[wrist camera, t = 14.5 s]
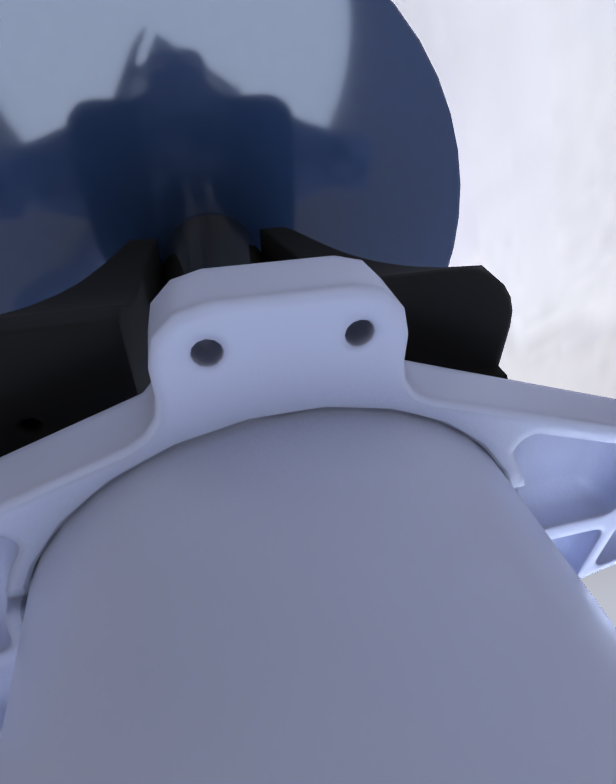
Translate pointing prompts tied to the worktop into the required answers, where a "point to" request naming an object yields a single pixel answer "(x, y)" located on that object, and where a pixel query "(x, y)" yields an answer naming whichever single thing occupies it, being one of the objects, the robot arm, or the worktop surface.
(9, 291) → the lid
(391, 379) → the robot arm
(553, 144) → the worktop surface
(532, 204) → the worktop surface
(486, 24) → the worktop surface
